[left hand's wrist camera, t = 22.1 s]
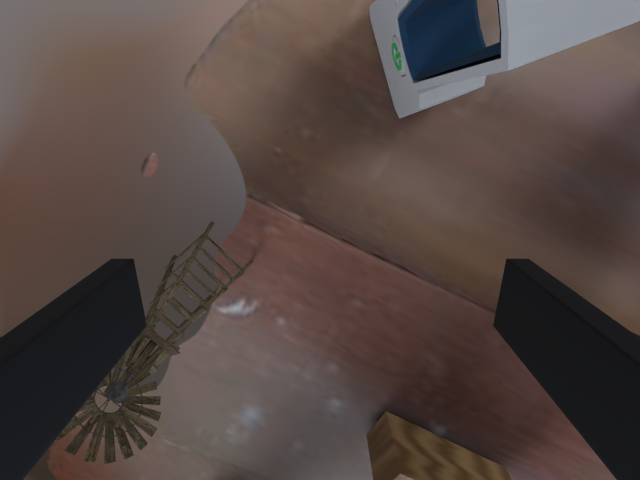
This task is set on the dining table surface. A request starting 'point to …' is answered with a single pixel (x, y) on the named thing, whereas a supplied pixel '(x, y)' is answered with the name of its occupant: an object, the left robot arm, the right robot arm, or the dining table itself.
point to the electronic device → (478, 41)
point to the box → (423, 455)
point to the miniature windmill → (144, 365)
